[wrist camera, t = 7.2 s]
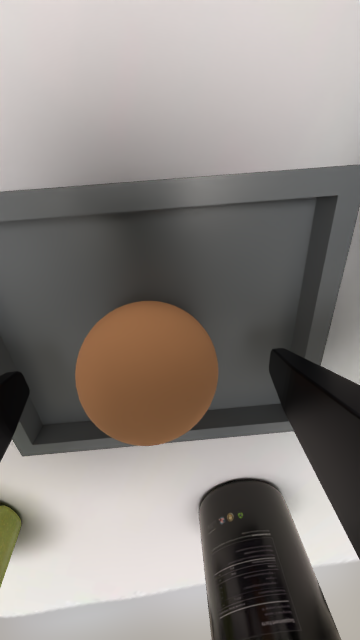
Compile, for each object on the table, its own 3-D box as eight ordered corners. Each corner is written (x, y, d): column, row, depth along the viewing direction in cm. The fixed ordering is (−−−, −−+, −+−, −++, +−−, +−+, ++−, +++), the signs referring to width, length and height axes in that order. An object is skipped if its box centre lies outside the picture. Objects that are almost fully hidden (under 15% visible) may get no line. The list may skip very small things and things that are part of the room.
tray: (333, 170, 9) (370, 163, 7) (288, 404, 14) (304, 430, 13) (-73, 201, 9) (-127, 201, 7) (38, 427, 14) (22, 456, 12)
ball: (205, 277, 10) (239, 340, 5) (207, 372, 12) (232, 472, 8) (84, 287, 10) (16, 360, 5) (109, 381, 12) (76, 488, 8)
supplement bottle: (293, 507, 20) (443, 870, 9) (219, 531, 21) (274, 877, 10) (265, 464, 17) (437, 920, 6) (182, 495, 18) (204, 921, 7)
